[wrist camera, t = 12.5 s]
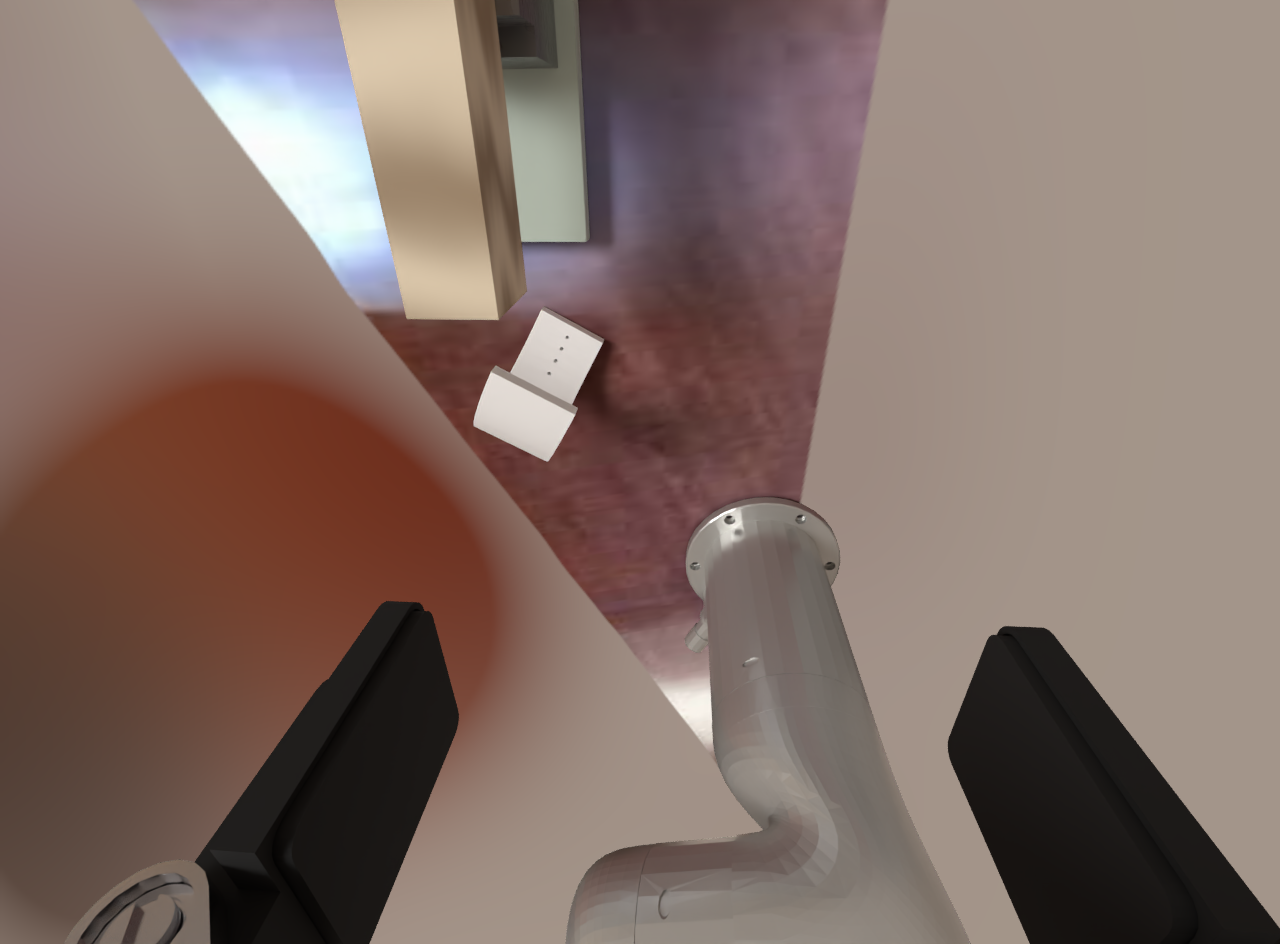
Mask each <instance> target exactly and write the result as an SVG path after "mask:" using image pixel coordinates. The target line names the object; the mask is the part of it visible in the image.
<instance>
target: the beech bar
mask: <svg viewBox="0 0 1280 944" xmlns="http://www.w3.org/2000/svg"><path fill="white" fill-rule="evenodd" d="M335 5H336V9H337V14H338V18H339V23H340V27H341V31H342V36H343V40H344V45H345V49H346V53H347V58H348V62H349V67H350V71H351V75H352V80H353V84H354V89H355V93H356V97H357V102H358V106H359V111H360V115H361V119H362V124H363V128H364V133H365V137H366V141H367V146H368V150H369V155H370V159H371V164H372V168H373V172H374V177H375V181H376V186H377V190H378V194H379V199H380V203H381V208H382V212H383V216H384V221H385V225H386V230H387V234H388V238H389V243H390V247H391V252H392V256H393V260H394V265H395V269H396V274H397V278H398V282H399V287H400V291H401V296H402V300H403V305H404V309H405V313H406V318H407V319H462V320H499V319H500V318H501V317H502V316H503V315H504V314H505V313H506V312H507V311H508V310H509V309H510V308H511V307H512V306H513V305H514V304H515V303H516V302H517V301H518V300H519V299H520V298H521V297H522V296H523V295H524V294H525V293H526V292H527V287H526V278H525V269H524V260H523V251H522V242H521V233H520V224H519V215H518V206H517V197H516V188H515V179H514V170H513V161H512V152H511V143H510V134H509V125H508V116H507V107H506V98H505V89H504V80H503V71H502V62H501V53H500V44H499V35H498V26H497V17H496V8H495V0H335Z"/></svg>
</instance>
